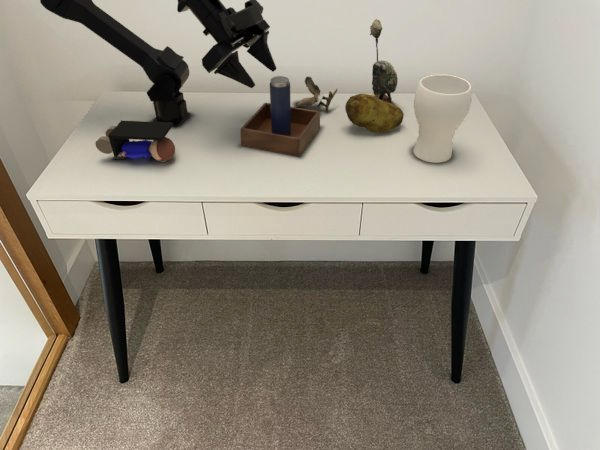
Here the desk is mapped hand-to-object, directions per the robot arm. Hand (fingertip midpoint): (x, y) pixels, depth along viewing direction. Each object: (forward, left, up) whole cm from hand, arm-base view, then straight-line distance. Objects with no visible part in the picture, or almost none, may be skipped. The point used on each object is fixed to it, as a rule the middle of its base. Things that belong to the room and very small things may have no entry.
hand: (264, 78), depth 103 cm
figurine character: (-20, -18, -13) cm, 30 cm away
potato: (+22, +10, -13) cm, 27 cm away
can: (+3, 0, -12) cm, 13 cm away
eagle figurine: (+6, +16, -13) cm, 21 cm away
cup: (+36, +4, -13) cm, 38 cm away
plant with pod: (+21, +21, -13) cm, 32 cm away
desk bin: (+4, 0, -13) cm, 13 cm away
